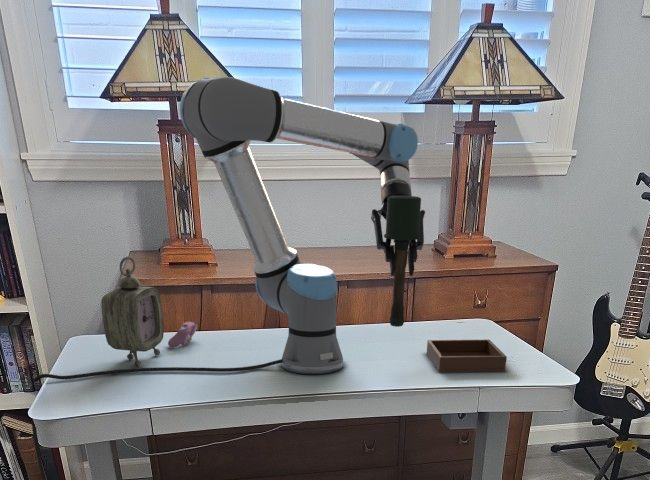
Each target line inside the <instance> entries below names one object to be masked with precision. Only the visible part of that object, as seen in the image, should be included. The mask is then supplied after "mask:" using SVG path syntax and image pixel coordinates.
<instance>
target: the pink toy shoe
mask: <svg viewBox="0 0 650 480" xmlns="http://www.w3.org/2000/svg"><path fill="white" fill-rule="evenodd" d="M197 329H198V324H196V323H195V322H191V321H190V320H189V321H186V322H183V323H182V324H181V327H179V330H177V332H176V333H175V334H174V335H173V336H171V338H169V339H168V341H167V345H168V347H169V348H172V349H173V348H177V347H179V346H180V345H182V346H184V347H185V346H186V344H187V343H190V342H191V341H192V338H193V336H194V335H195V334H196V332H197Z"/></svg>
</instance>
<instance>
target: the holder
mask: <svg viewBox="0 0 650 480" xmlns="http://www.w3.org/2000/svg"><path fill="white" fill-rule="evenodd" d="M426 356H427V357H428V358H429V360H430V362H431V363H432V365H433V366H434V367H435V369H436V371H437V372H438V373H498V372H499V373H501V372H503V373H505V372H506V366H507V355H506V354H505V353H504V352H503V351H502V350H501V349H500V348H499V347H498V346H497V345H496V344H494V342H492V340H491V339H427V344H426Z"/></svg>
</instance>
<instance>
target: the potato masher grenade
mask: <svg viewBox="0 0 650 480" xmlns="http://www.w3.org/2000/svg"><path fill="white" fill-rule="evenodd" d="M421 205H422V198H421V197H420V196H415V195H412V196H390V197H388V201H387V219H385V222H386V223H385V233H383V238H384V239H386V238H387V239H391V240H393V243H394V255H395V268H396V269H395V273H394V276H393V289H392V291H393V292H392V304H391V307H390V316H389V324H390V326H391V327H394V328H397V327H398V328H399V327H402V326H403V325H404V323H405V305H404V304H405V303H404V298H405V283H406V281H405V280H406V268H407V265H408V249H409V245H408V244H409V243H410V241H409V240H416V241H417V239H419V238H420V235H419V223H420V211H421Z"/></svg>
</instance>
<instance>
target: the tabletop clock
mask: <svg viewBox="0 0 650 480" xmlns="http://www.w3.org/2000/svg"><path fill="white" fill-rule="evenodd" d="M128 260H130V261H131V262H132V269H131V270H130V269H129V268H127V269H125V272H124V271H123V265H124V262H126V261H128ZM135 270H136V263H135V260H134V258H133V257H131V256H123V258H122V259H121V260H120V263H119V273H120V274H121V275H122V276H124V277H122V278H121V279H120V280H119V283H118V286H117V287H116V288H114V289H113V290H111V291H109V292H107V293H106V294H104V295H103V296H102V298H101V301H100V302H101V303H100V307H101V316H102V324H103V330H104V336H105V341H106V343H107V345H108V346H110V347H111V348H112V349H113V350H119V351H129V353H128V354H127V355H126V358H127V360H129V361H133V360H135V361H134V362H133V365H134V367H135V368H141V366H142V363H141V361H140V360H139V359H138V352H142V353H143V352H144V353H145V352H148V351H151V350H153V354H154V355H155V356H159V355H160V354H161V350H160V348H156V347H157V346H158V345H160V344H161V342H162V341H163V339H164V330H165V328H164V326H165V325H164V313H163V306H162V299H161V294H160V291H159V288H158V287H155V286H143V285H142V284H141V282H140V280H139V279H138V278H137V277H135V276H132V275H133V274H134V272H135Z"/></svg>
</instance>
